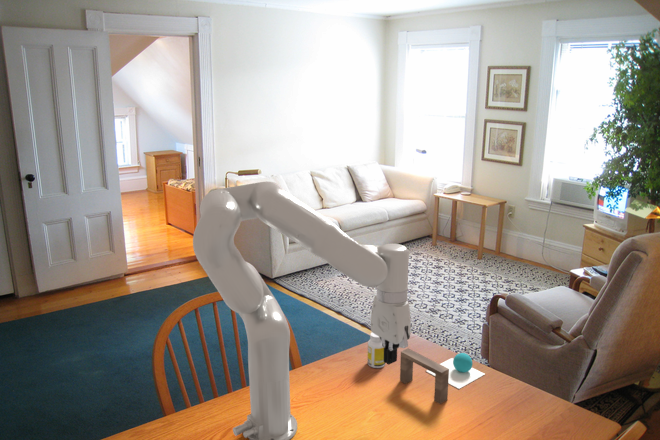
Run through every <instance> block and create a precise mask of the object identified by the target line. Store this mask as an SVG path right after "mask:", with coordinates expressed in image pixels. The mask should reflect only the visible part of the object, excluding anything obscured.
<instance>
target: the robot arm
mask: <svg viewBox="0 0 660 440" xmlns="http://www.w3.org/2000/svg"><path fill="white" fill-rule="evenodd" d="M199 213H200V218H199V220H198V222H197V223H196V226H195V229H194V231H193V236H192V248H193V252H194V255H195V257H196V259H197V261H198V263H199V264H200V267H202V269H203V270H204V272H205V274H206V275H207V277H208V278H209V280H210V282H211V283H212V285H214V287H215V289H216V290H217V292H218V293H219V295H220V296H221V298H222V299H223V302H224V303H225V306H227V307H228V308H229V309H230V310H232V311H233V312H234V313H237V314H238V315H239V316H240V318H241V320H242V322H243V323H244V328H245V331H246V333H245V334H246V337H247V349H248V350H247V363H248V367H247V368H248V382H249V398H250V400H249V401H250V413H249V414H247V415H246V420H245V421H244V422H243V423H242V424H239V425H237V426H234V427H233V428H232V432H233V435H234V436H235V437H237V436H239V435H241V434H242V436H243V437H244V439H248V440H291V439H292V438H293V437H294V436H295V435H296V432H297V430H298V421H297V419H296V418H295V416H294V415H292V413H291V392H290V391H291V389H290V386H291V385H290V344H291V331H290V326H289V323H288V319H287V318H286V316H285V314H284V312H283V310H282V308H281V305H280V304H279V302H278V301H277V299H276V297H275V296H274V294H273V293H272V291H271V290H270V289H269V287H268V285H267V284H266V282H265V280H264V279H263V277H262V276H261V274H260V273H259V271H258V270H257V268H255V266H254V265H253V264H251V263H250V262H248V261H246V260H245V259H244V257H243V255H242V254H241V251H240V250H239V249H238V248H237V245H235V235H236V233H237V231H238V230H239V228H240V226H241V223H242V222H244V221H248V220H255V219H259V221H260V222H262V223H263V224H265V225H267V226H269V227H270V228H271V229H273V230H275V231H276V232H278V233H280V234H282V235H283V236H285V237H286V238H288V239H290V240H291V241H293V242H295V244H297V245H299V246H301V247H302V248H304V249H305V250H307V251H308V252H310V253H311V254H312V255H314V256H315V257H317V258H319V259H320V260H322V261H324V262H325V263H326V264H328V265H330V266H331V267H332V268H334V269H335V270H337V271H339V272H340V273H342V274H343V275H345V276H346V277H348V278H349V279H351V280H353V281H355V282H357V283H358V284H359V285H361V286H363V287H366V288H375V289H376V295H374V298H373V301H372V306H371V311H370V312H371V314H370V331H371V333H372V332H373V333H374V334H376V335H377V336H379V337H380V339H381V341H382V346H383V347H384V362H385V364H387V365H391V364H393V363H395V362H397V360H398V349H399V348H401V349H405V348H406V349H407V348H408V347H409V342H408V340H410V337H411V332H412V331H411V330H412V329H411V327H412V323H411V322H412V321H411V311H410V303H409V301H408V294H409V293H408V287H409V284H408V283H409V261H410V260H409V259H410V253H409V249H408V248H407V247H406V246H405V245H402V244H399V243H385V244H382V245H381V244H380V245H377V244H376V245H375V244H363V243H359V242H357V241H356V240H354V238H351V237H350V236H349V235H347V234H346V233H345V232H344V231H343V230H341V228H339V227H338V225H336V224H335V223H334V222H333V221H331V220H330V219H329V218H327V216H325V215H323V214H322V213H320V212H318V211H316V210H315V209H314V208H313V207H310V206H309V205H308V204H306V203H305V202H303V201H302V200H299V198H297V197H295V196H294V195H292V194H291V193H289V192H288V191H286V190H285V189H284V188H283V187H281V185H279V184H278V183H276V182H274V181H259V182H258V181H257V182H253V183H247V184H242V185H236V186H228V187H222V188H218V189H215V190H211V191H209V192H208V193H207V194H205V196H203V198H202V199H201V201H200V205H199Z"/></svg>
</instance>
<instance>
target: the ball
mask: <svg viewBox="0 0 660 440" xmlns="http://www.w3.org/2000/svg"><path fill="white" fill-rule="evenodd" d="M453 365H454V367H455V369H456V370H457V371H459V372H463V373H464V372H468V371H469V370H470V369H471V368H473V360H472V357H471V356H470V355H469V354H467V353H465V352H460V353H457V354H455V356H454V357H453Z"/></svg>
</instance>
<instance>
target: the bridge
mask: <svg viewBox="0 0 660 440" xmlns="http://www.w3.org/2000/svg"><path fill="white" fill-rule="evenodd" d="M414 364H416V365H418V366H419V367H422V368H423V369H426V371H427V370H429V371H431V372H433V373H435V376H434V396H433V397H434V398H433V401H434V402H436V404H439V405H442V404H443V403H445V402H446V401H448V394H449V384H448V379H449V369H448V368H446V367H444V366H442V365H440V364H441V363H438V362H437V361H434V360H432V359H430V358H428V357H427V356H425V355H422V354H420V353H418V352H416V351H415V350H413V349H410V348H408V347H407V348H406V349H403V350H402V351H400V364H399V365H400V369H399V371H400V372H399V373H400V374H399V381H400V382H401V383H403V384H404V385H406V384H408V383H410V382H412V381H413V374H414Z"/></svg>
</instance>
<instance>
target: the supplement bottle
mask: <svg viewBox="0 0 660 440" xmlns="http://www.w3.org/2000/svg"><path fill="white" fill-rule="evenodd" d="M369 335H370V336H369V340H368V342H367V365H368V366H369V367H371V368H373V369H381V368H384V367H385V366H386V363H385V362H384V347H383V346H382V341H381V339H380V337H379V336H377V335H376V334H374V333H373V332H372V331H371V332H370V334H369Z"/></svg>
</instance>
